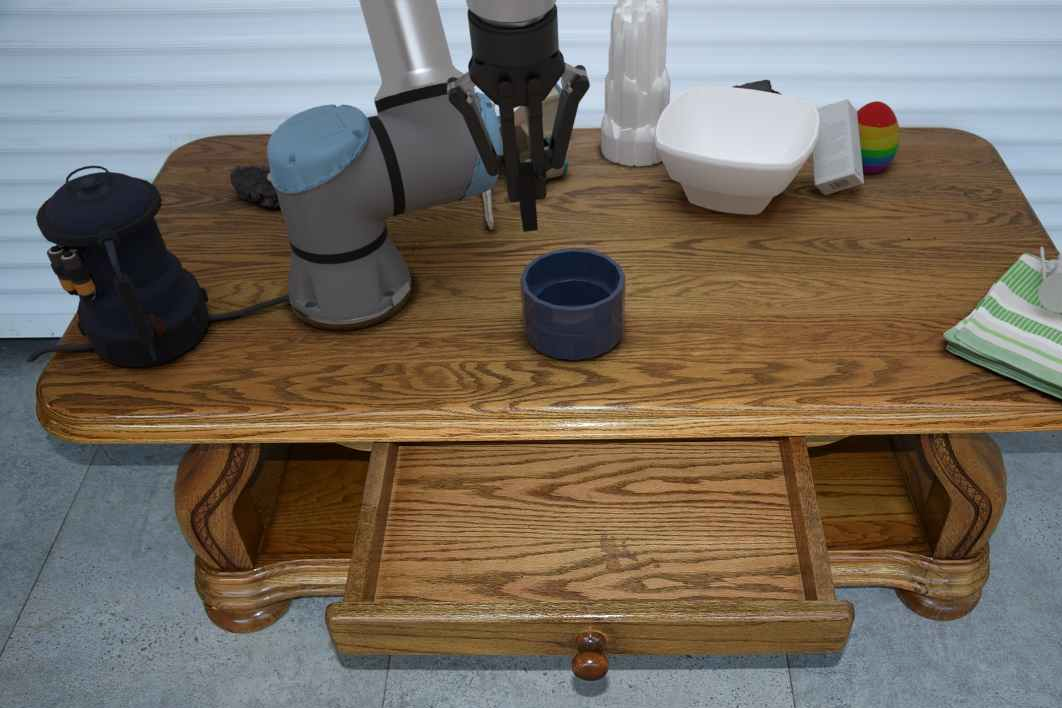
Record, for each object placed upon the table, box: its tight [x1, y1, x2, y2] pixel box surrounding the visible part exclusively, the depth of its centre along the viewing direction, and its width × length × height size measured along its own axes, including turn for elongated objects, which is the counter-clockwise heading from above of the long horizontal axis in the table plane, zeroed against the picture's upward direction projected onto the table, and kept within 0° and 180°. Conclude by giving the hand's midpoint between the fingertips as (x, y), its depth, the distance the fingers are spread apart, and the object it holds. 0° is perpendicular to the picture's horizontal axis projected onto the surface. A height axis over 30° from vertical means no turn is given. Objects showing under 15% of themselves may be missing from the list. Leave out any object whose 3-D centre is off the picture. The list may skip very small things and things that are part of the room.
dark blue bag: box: [35, 165, 210, 368], centre depth 106 cm, size 15×21×20 cm
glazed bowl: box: [519, 247, 626, 361], centre depth 112 cm, size 12×12×8 cm
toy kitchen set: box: [497, 82, 569, 180], centre depth 141 cm, size 18×14×11 cm
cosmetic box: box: [811, 98, 865, 196], centre depth 136 cm, size 6×4×12 cm
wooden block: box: [499, 106, 530, 151], centre depth 140 cm, size 4×4×8 cm
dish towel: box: [942, 252, 1062, 400], centre depth 113 cm, size 18×23×3 cm
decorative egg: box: [856, 100, 901, 174], centre depth 140 cm, size 8×8×10 cm
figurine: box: [1038, 246, 1062, 313], centre depth 116 cm, size 5×5×12 cm
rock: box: [229, 163, 280, 209], centre depth 135 cm, size 12×8×10 cm
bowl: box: [653, 85, 820, 216], centre depth 133 cm, size 22×22×12 cm
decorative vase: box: [600, 0, 671, 167], centre depth 139 cm, size 11×11×25 cm
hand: (529, 222), depth 97 cm, fingers closed
